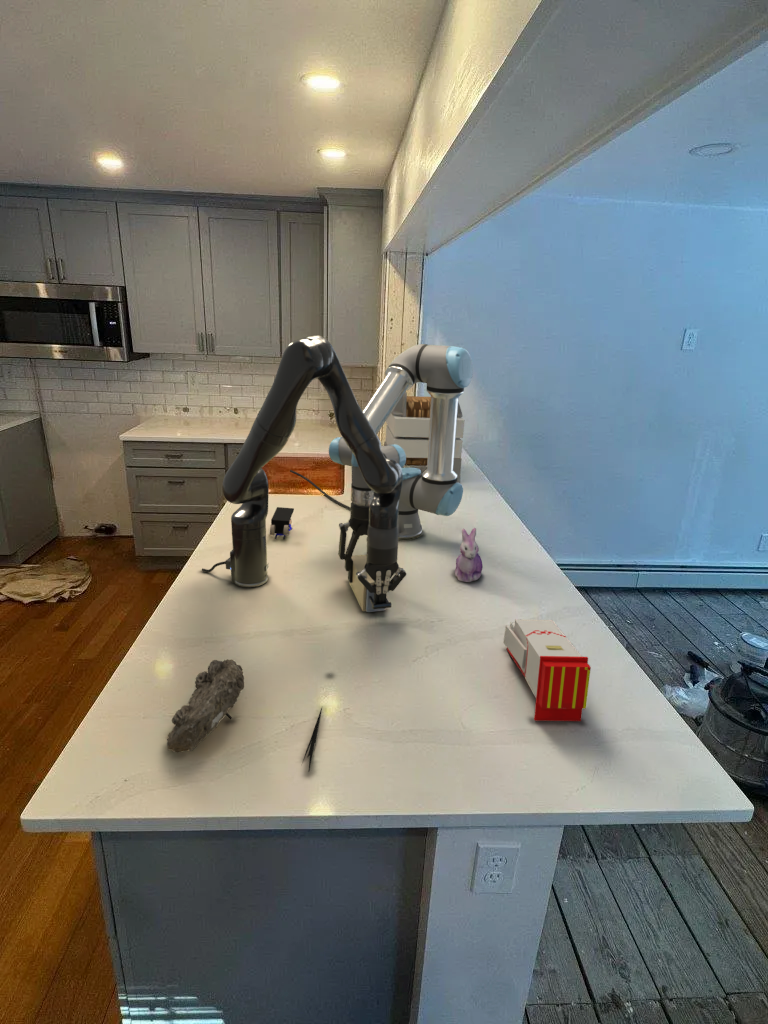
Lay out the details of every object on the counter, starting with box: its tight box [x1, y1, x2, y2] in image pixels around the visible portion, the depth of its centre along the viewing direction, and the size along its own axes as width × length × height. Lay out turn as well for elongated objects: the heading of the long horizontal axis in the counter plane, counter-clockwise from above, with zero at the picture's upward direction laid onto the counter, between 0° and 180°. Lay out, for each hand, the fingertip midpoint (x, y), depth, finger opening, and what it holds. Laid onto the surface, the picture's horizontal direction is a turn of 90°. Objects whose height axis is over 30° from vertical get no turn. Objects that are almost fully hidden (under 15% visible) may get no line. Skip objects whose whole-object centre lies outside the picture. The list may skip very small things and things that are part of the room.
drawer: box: [365, 585, 392, 613], centre depth 150 cm, size 22×5×6 cm, turn 16°
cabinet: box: [347, 553, 374, 612], centre depth 155 cm, size 17×6×8 cm, turn 16°
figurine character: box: [269, 506, 295, 540], centre depth 194 cm, size 7×8×15 cm
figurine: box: [454, 527, 484, 583], centre depth 168 cm, size 9×10×15 cm
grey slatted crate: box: [383, 390, 465, 483], centre depth 268 cm, size 34×33×41 cm
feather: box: [301, 673, 332, 771], centre depth 108 cm, size 2×28×2 cm
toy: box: [503, 618, 592, 722], centre depth 122 cm, size 12×13×30 cm
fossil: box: [166, 658, 245, 754], centre depth 106 cm, size 22×10×15 cm
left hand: (380, 605), depth 143 cm, fingers closed
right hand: (362, 579), depth 160 cm, fingers closed on cabinet, 6 cm apart
